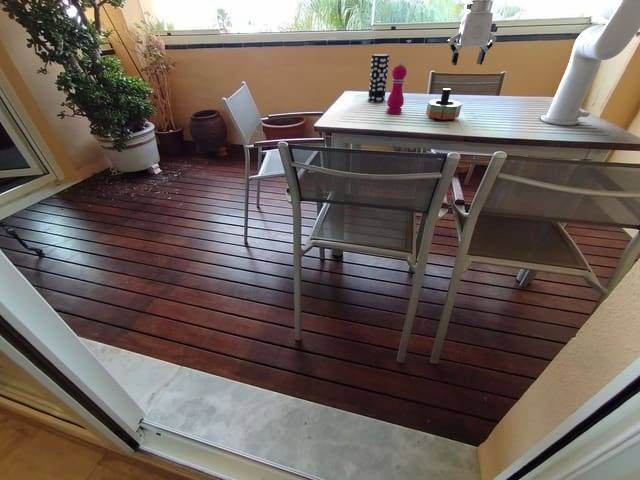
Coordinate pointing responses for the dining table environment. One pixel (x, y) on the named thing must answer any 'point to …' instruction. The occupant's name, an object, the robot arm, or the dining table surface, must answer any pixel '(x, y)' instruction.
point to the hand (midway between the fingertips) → (466, 64)
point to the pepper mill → (396, 89)
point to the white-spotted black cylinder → (378, 77)
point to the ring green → (444, 106)
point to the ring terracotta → (442, 115)
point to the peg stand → (444, 100)
